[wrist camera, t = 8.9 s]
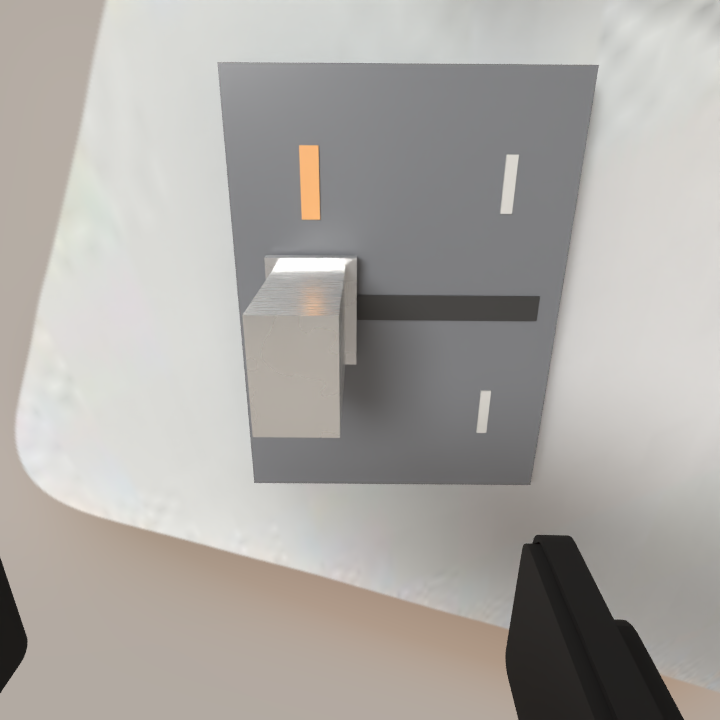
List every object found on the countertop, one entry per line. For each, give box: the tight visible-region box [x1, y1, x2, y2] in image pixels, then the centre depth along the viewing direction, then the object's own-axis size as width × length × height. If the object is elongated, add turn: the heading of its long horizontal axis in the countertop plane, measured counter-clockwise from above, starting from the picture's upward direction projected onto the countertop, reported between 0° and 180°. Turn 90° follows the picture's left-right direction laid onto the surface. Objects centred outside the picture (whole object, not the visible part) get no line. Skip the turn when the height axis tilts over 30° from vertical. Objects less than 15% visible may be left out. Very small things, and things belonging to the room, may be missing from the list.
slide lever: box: [242, 255, 357, 438], centre depth 21 cm, size 4×5×8 cm
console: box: [218, 62, 599, 485], centre depth 26 cm, size 15×20×3 cm
